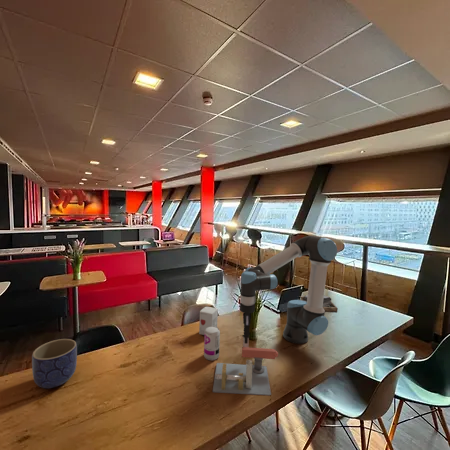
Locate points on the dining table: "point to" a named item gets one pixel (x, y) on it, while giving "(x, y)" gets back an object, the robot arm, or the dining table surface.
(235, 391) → the board
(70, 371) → the planter
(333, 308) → the towel corral
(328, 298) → the towel
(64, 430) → the dining table surface
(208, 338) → the supplement can
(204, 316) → the supplement box
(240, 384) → the eye bracket
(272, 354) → the handle
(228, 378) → the sliding bolt
